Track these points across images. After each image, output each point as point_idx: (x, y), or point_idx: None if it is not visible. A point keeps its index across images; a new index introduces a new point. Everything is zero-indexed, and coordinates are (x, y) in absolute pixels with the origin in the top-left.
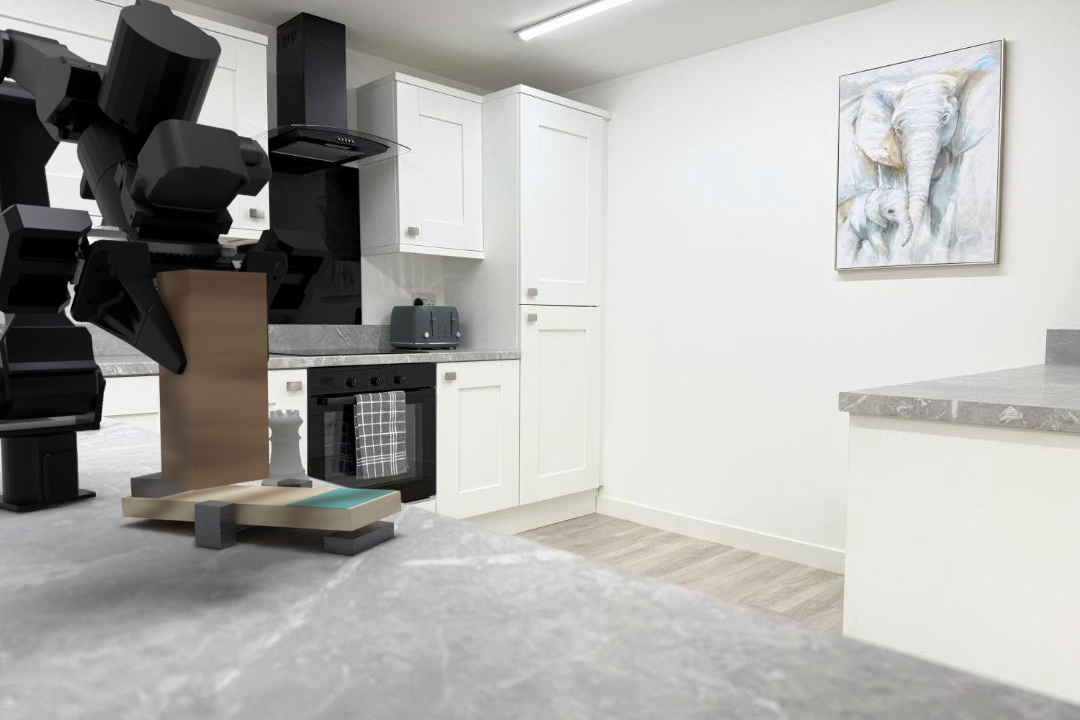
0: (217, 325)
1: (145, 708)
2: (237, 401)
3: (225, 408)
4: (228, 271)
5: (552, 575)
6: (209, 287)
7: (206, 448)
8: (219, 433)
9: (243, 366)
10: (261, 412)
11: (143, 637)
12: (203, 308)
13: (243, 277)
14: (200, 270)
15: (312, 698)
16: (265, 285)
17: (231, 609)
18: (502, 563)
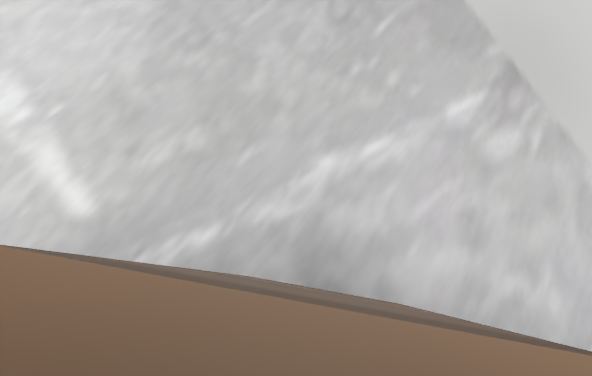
0: (372, 305)
1: (547, 115)
2: (303, 288)
3: (337, 294)
4: (297, 308)
5: (40, 12)
6: (442, 323)
7: (381, 301)
8: (352, 296)
9: (273, 284)
10: (240, 276)
11: (460, 282)
12: (454, 322)
13: (186, 278)
14: (551, 347)
15: (441, 7)
16: (43, 250)
17: (344, 271)
18: (25, 93)
